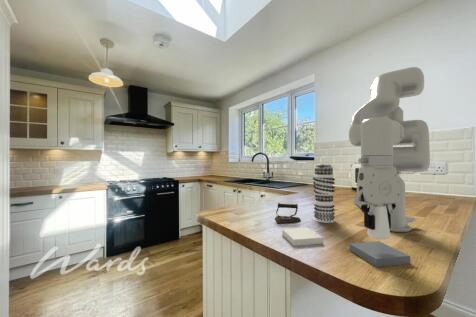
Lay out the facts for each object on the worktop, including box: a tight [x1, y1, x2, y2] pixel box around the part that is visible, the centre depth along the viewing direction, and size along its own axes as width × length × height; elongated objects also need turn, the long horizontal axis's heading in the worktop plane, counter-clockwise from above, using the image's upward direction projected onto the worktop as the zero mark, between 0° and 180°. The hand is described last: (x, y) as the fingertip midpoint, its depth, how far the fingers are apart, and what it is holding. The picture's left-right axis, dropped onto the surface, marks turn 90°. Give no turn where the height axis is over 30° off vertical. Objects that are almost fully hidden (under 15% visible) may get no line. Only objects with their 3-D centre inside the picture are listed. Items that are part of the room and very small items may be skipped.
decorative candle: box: [312, 163, 336, 224], centre depth 95 cm, size 9×9×25 cm
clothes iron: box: [274, 202, 302, 225], centre depth 94 cm, size 7×11×10 cm, turn 90°
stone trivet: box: [281, 227, 324, 247], centre depth 73 cm, size 10×10×2 cm
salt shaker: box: [366, 204, 391, 240], centre depth 59 cm, size 5×5×11 cm
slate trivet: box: [349, 240, 411, 268], centre depth 59 cm, size 10×10×2 cm
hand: (377, 227), depth 59 cm, fingers closed on salt shaker, 4 cm apart
